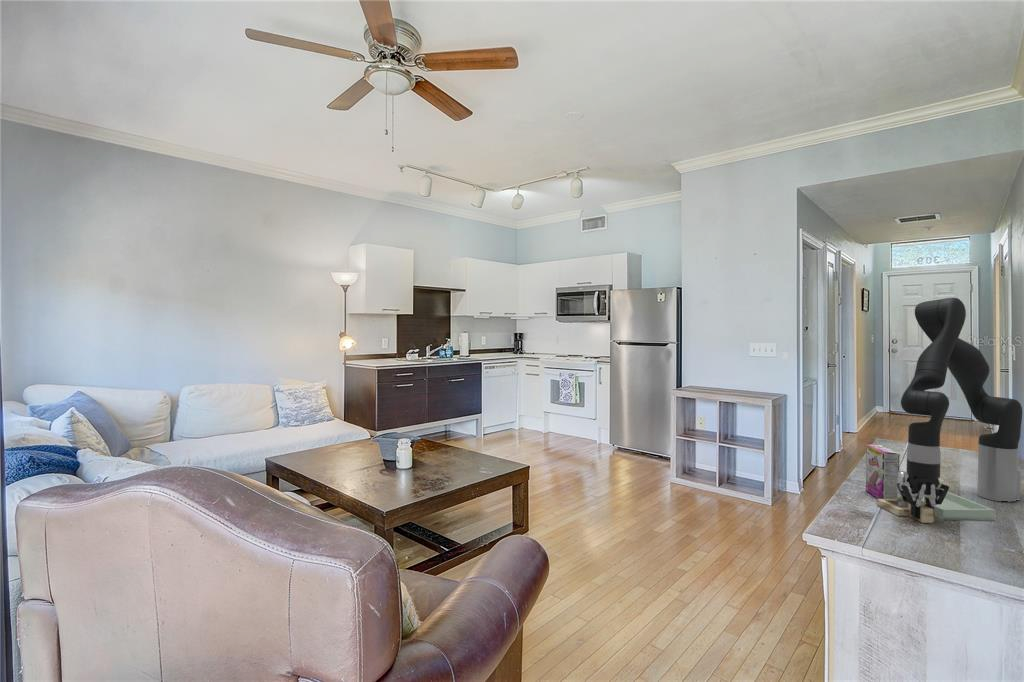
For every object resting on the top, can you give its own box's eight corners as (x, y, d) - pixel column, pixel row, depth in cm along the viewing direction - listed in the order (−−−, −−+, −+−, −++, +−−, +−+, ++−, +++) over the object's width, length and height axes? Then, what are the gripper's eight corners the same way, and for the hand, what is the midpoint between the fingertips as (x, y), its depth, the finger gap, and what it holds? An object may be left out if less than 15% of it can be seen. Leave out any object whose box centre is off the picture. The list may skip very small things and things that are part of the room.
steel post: (902, 509, 152) (903, 470, 151) (908, 512, 149) (909, 473, 149) (894, 509, 152) (895, 470, 151) (900, 512, 149) (901, 473, 149)
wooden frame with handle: (876, 505, 155) (876, 492, 155) (905, 505, 155) (905, 492, 155) (912, 522, 141) (912, 509, 141) (943, 522, 141) (944, 509, 141)
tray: (936, 496, 163) (937, 487, 163) (995, 520, 143) (995, 510, 143) (891, 496, 163) (891, 487, 163) (942, 519, 143) (943, 509, 143)
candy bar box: (864, 491, 168) (865, 444, 168) (880, 492, 167) (881, 444, 167) (881, 503, 157) (883, 452, 157) (899, 504, 156) (900, 453, 156)
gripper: (936, 456, 146) (935, 513, 147) (889, 455, 146) (888, 513, 147) (959, 463, 139) (958, 523, 139) (909, 462, 139) (907, 523, 139)
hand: (922, 517), depth 143 cm, fingers closed on wooden frame with handle, 3 cm apart
